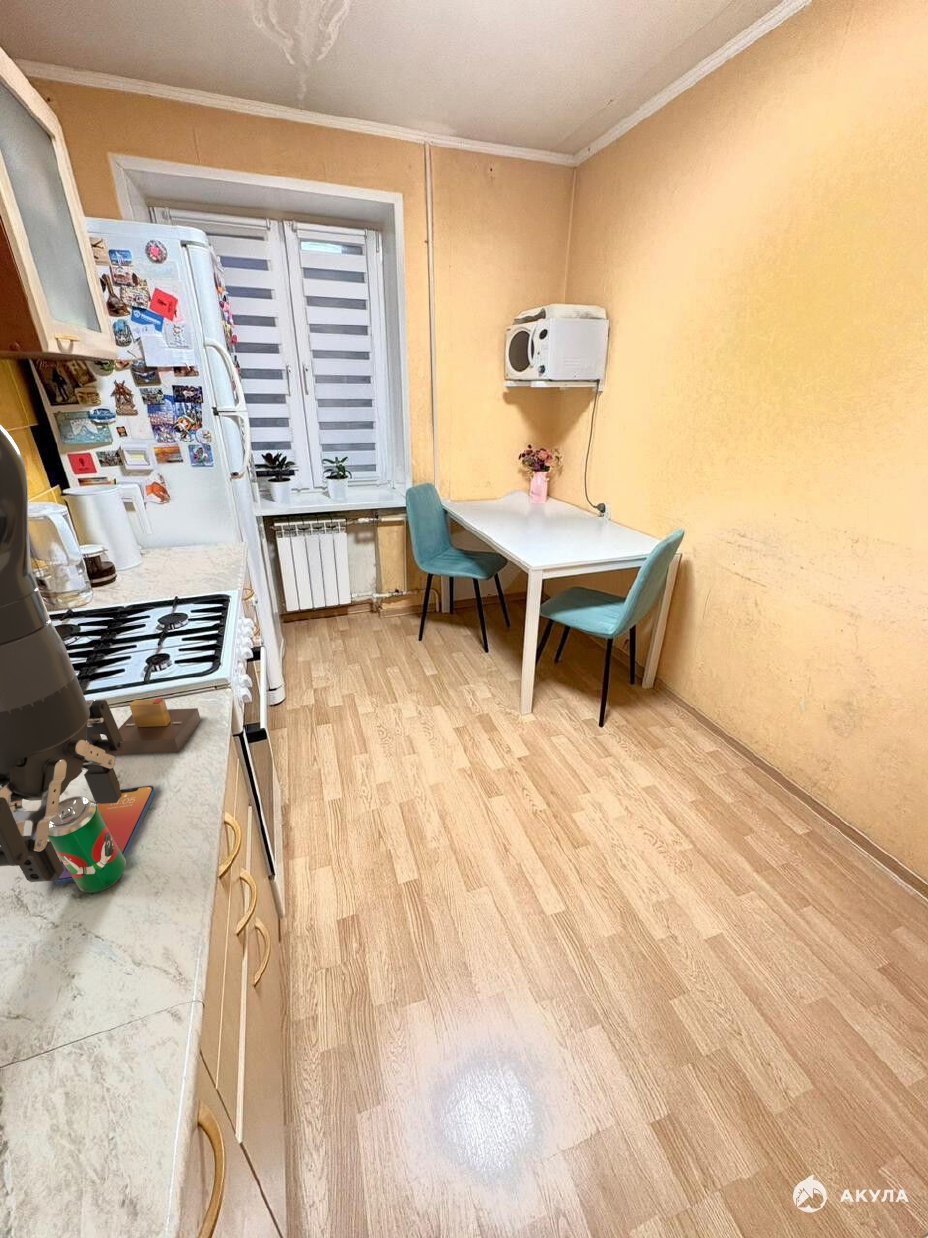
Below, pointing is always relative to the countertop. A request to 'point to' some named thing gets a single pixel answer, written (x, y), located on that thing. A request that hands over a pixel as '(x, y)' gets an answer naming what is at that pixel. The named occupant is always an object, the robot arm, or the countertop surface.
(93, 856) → the soda can
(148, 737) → the plate
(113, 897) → the countertop surface
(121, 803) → the smartphone
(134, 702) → the lock knob
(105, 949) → the countertop surface
